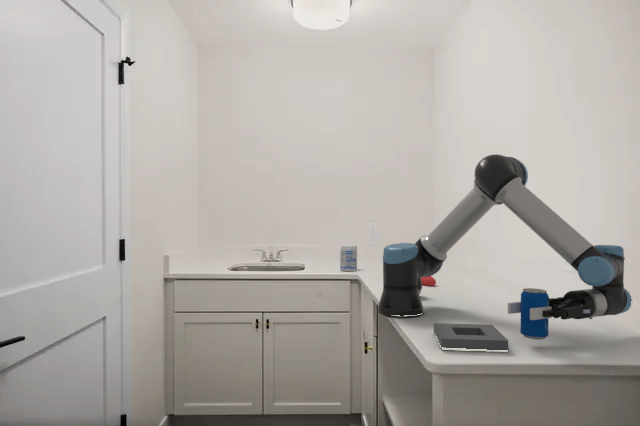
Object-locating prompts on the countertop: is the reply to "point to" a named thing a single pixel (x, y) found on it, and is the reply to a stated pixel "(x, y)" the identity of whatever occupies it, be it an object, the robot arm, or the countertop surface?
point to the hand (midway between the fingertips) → (519, 311)
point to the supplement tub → (348, 258)
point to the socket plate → (470, 336)
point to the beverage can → (529, 300)
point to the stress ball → (428, 281)
